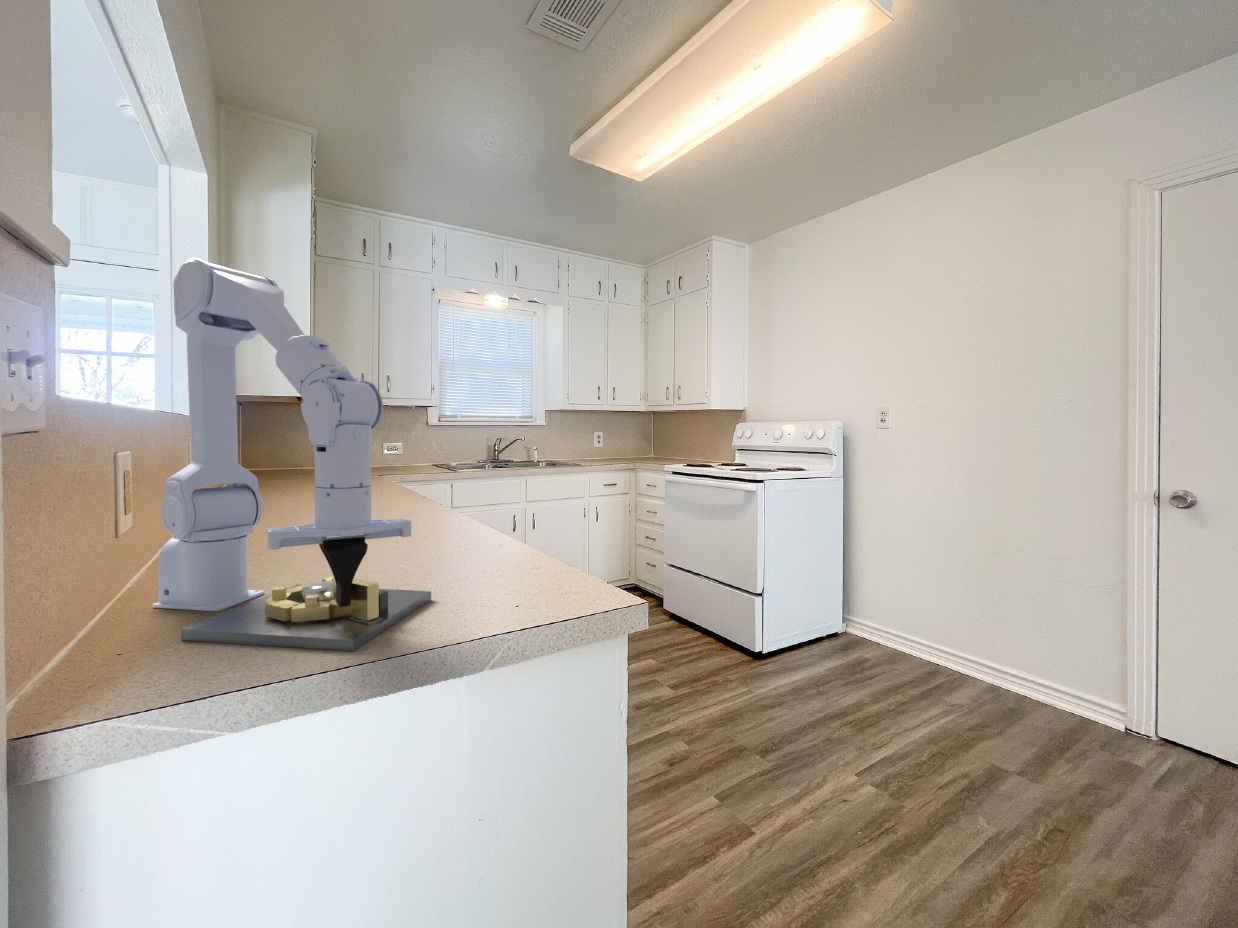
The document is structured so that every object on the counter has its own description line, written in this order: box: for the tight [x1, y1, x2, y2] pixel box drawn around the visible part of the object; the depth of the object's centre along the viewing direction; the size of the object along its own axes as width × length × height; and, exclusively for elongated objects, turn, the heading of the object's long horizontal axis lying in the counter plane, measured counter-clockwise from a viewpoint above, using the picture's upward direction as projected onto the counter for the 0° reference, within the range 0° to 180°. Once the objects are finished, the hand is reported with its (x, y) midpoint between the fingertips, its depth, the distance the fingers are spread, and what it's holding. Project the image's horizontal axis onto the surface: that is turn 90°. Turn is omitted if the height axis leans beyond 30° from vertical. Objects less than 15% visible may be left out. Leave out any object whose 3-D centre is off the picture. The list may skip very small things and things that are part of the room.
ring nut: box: [265, 574, 380, 622], centre depth 65 cm, size 15×11×4 cm
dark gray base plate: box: [180, 581, 432, 652], centre depth 66 cm, size 20×18×4 cm
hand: (343, 604), depth 61 cm, fingers closed
